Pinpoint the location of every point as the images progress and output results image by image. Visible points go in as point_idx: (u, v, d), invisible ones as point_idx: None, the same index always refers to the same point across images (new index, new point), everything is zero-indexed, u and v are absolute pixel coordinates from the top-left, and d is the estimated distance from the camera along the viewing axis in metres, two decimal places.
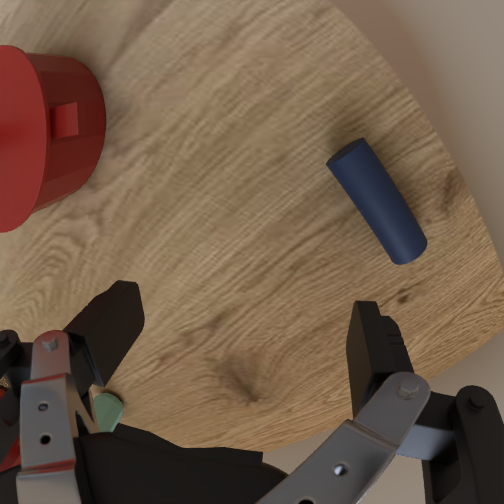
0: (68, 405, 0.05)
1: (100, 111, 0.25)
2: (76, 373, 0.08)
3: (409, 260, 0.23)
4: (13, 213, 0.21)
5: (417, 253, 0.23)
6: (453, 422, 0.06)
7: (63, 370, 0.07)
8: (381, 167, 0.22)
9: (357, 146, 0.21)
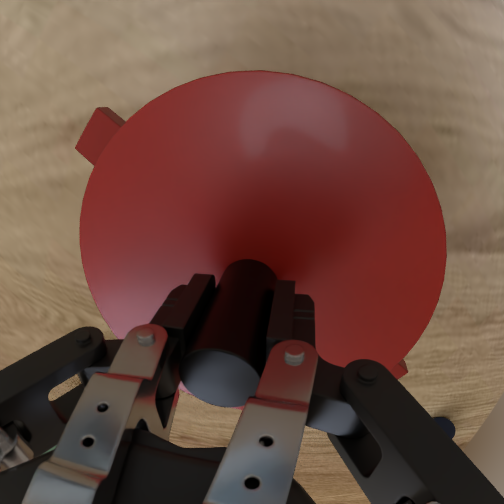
0: (129, 415, 0.05)
1: None
2: (173, 368, 0.08)
3: None
4: None
5: None
6: (343, 393, 0.07)
7: (146, 372, 0.07)
8: None
9: None
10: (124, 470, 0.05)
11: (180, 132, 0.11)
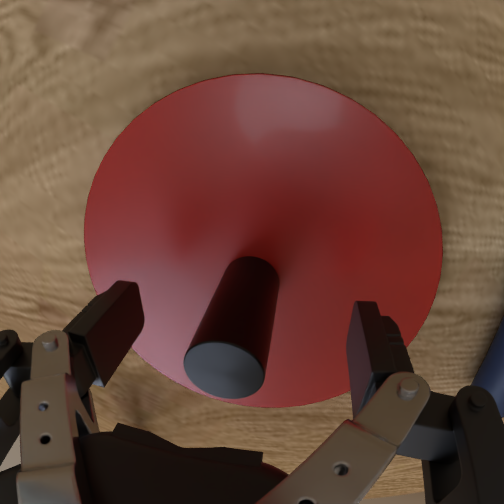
0: (68, 404, 0.05)
1: None
2: (76, 373, 0.08)
3: None
4: None
5: None
6: (454, 422, 0.06)
7: (63, 370, 0.07)
8: None
9: None
10: (84, 456, 0.05)
11: (184, 133, 0.12)
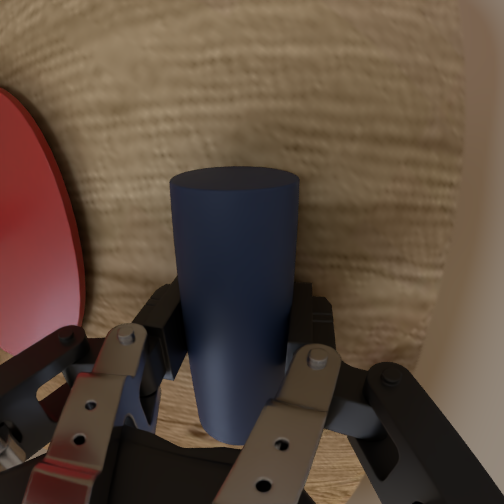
0: (117, 411, 0.05)
1: None
2: (153, 367, 0.08)
3: (223, 441, 0.11)
4: None
5: (245, 441, 0.11)
6: (367, 397, 0.07)
7: (129, 370, 0.07)
8: (287, 271, 0.09)
9: (265, 189, 0.07)
10: (116, 466, 0.05)
11: None
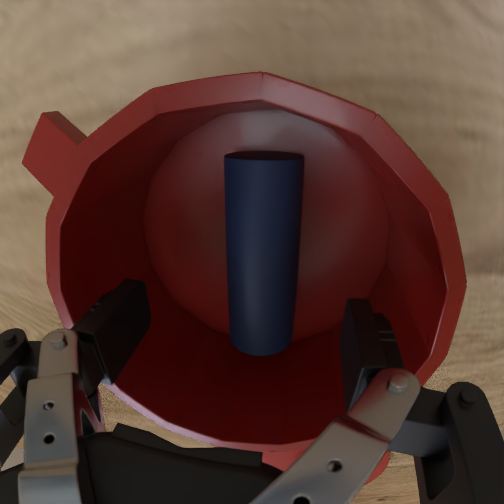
0: (73, 404, 0.05)
1: None
2: (85, 371, 0.08)
3: (254, 353, 0.16)
4: None
5: (271, 350, 0.16)
6: (444, 418, 0.06)
7: (71, 369, 0.07)
8: (299, 211, 0.14)
9: (289, 160, 0.13)
10: (88, 457, 0.05)
11: None
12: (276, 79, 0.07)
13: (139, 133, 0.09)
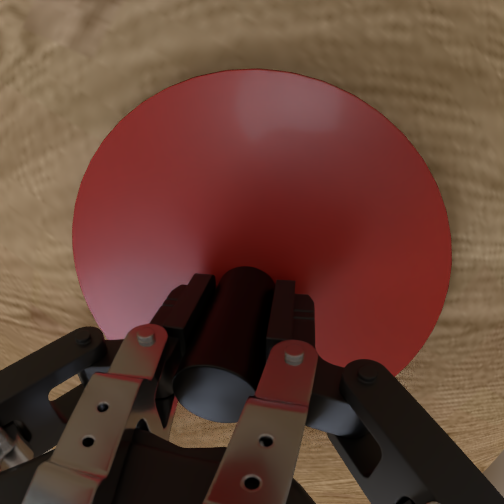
0: (129, 415, 0.05)
1: None
2: (173, 368, 0.08)
3: None
4: None
5: None
6: (343, 393, 0.07)
7: (146, 372, 0.07)
8: None
9: None
10: (124, 470, 0.05)
11: (174, 133, 0.11)
12: None
13: None
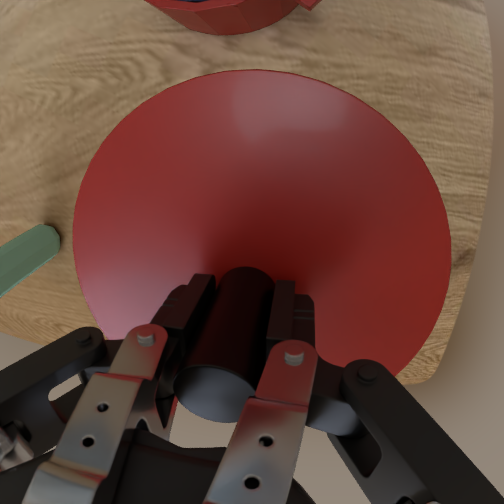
0: (128, 415, 0.05)
1: (297, 2, 0.23)
2: (173, 368, 0.08)
3: None
4: None
5: None
6: (343, 393, 0.07)
7: (146, 372, 0.07)
8: None
9: None
10: (124, 470, 0.05)
11: (174, 134, 0.11)
12: None
13: None
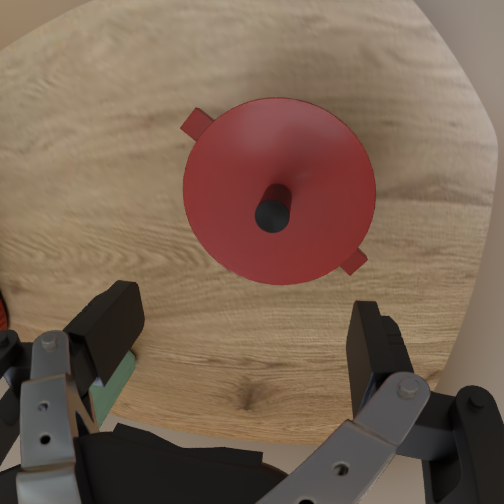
0: (67, 404, 0.05)
1: None
2: (76, 373, 0.08)
3: None
4: (254, 269, 0.30)
5: None
6: (454, 422, 0.06)
7: (63, 370, 0.07)
8: None
9: None
10: (84, 456, 0.05)
11: (246, 123, 0.25)
12: None
13: None
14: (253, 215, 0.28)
